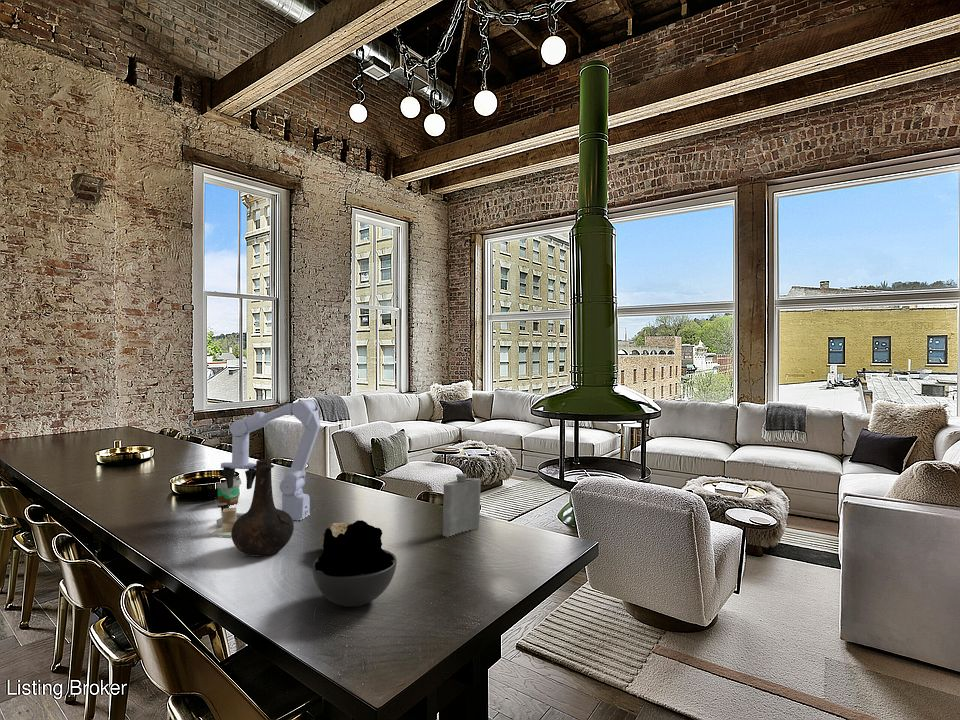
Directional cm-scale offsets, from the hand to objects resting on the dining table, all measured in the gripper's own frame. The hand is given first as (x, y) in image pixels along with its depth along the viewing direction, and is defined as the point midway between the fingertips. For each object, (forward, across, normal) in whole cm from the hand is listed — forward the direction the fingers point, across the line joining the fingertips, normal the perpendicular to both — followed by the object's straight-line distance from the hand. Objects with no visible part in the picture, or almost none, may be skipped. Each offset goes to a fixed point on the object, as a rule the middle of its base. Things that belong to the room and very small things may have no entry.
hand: (239, 488), depth 193 cm
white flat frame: (+10, -7, +9) cm, 15 cm away
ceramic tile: (+10, -8, +18) cm, 23 cm away
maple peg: (+10, -8, +18) cm, 22 cm away
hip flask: (+11, -85, +3) cm, 86 cm away
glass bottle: (+11, -28, +32) cm, 44 cm away
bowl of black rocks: (+11, -68, +60) cm, 91 cm away
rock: (+11, -55, +31) cm, 64 cm away
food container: (+11, +12, -14) cm, 21 cm away
